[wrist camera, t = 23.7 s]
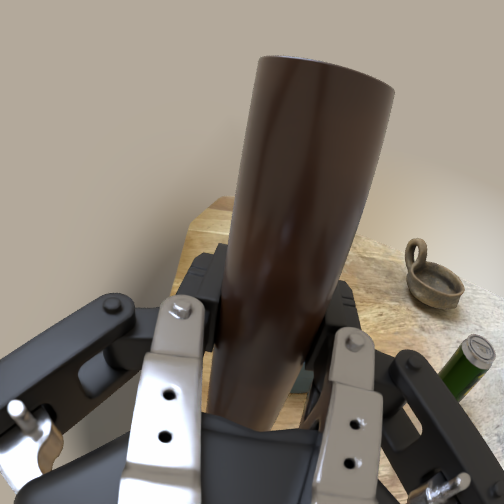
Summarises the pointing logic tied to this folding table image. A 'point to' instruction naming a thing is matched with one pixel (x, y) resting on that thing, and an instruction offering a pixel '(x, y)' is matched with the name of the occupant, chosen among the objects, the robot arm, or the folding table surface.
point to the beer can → (467, 365)
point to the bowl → (431, 279)
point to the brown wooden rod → (291, 226)
